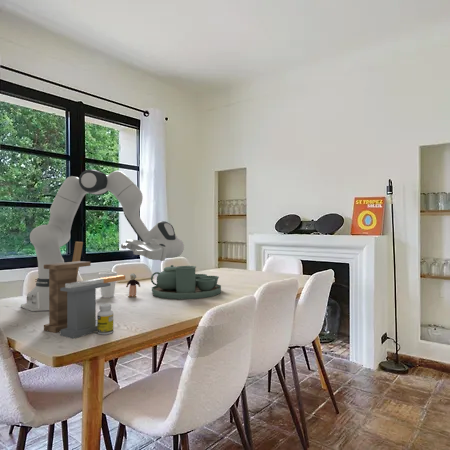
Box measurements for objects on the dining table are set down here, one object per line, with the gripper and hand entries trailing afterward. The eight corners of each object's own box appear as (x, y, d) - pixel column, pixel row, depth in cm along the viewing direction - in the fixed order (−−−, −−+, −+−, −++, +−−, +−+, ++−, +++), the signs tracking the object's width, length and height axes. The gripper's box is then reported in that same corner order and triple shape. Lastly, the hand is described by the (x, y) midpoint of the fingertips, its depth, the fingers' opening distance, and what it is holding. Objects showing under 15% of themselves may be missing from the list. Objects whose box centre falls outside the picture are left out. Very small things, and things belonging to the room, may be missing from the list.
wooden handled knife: (65, 288, 124) (65, 283, 124) (120, 278, 145) (120, 275, 145) (70, 288, 122) (70, 284, 122) (125, 279, 144) (125, 275, 144)
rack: (60, 335, 124) (60, 287, 124) (97, 324, 138) (97, 281, 138) (73, 338, 121) (73, 289, 121) (110, 326, 135) (110, 283, 135)
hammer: (89, 294, 213) (97, 245, 212) (84, 296, 208) (93, 245, 207) (58, 287, 216) (66, 238, 215) (53, 289, 211) (62, 239, 210)
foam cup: (117, 297, 192) (117, 273, 192) (98, 298, 189) (98, 274, 189) (116, 294, 201) (116, 271, 201) (98, 295, 198) (98, 272, 198)
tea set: (235, 294, 201) (235, 264, 201) (171, 303, 178) (171, 270, 178) (198, 285, 234) (198, 259, 234) (140, 292, 210) (140, 263, 210)
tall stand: (43, 330, 131) (43, 264, 131) (78, 321, 144) (78, 261, 144) (55, 333, 127) (55, 265, 127) (90, 323, 140) (90, 261, 140)
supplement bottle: (94, 334, 126) (93, 306, 126) (104, 330, 131) (104, 303, 131) (106, 335, 124) (106, 307, 124) (116, 331, 129) (116, 304, 129)
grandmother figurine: (125, 297, 191) (125, 274, 191) (126, 296, 195) (126, 273, 195) (140, 297, 193) (140, 273, 193) (140, 295, 197) (140, 272, 197)
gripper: (141, 236, 169) (116, 236, 158) (169, 248, 156) (143, 248, 145) (139, 249, 170) (113, 249, 159) (166, 261, 157) (140, 263, 146)
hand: (127, 249), depth 152 cm, fingers open, 8 cm apart
